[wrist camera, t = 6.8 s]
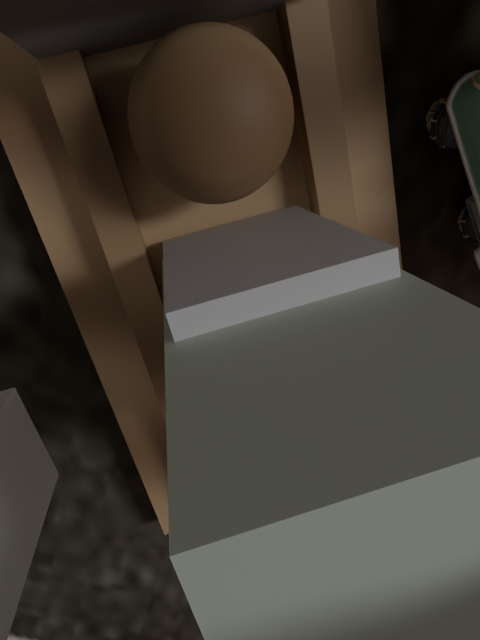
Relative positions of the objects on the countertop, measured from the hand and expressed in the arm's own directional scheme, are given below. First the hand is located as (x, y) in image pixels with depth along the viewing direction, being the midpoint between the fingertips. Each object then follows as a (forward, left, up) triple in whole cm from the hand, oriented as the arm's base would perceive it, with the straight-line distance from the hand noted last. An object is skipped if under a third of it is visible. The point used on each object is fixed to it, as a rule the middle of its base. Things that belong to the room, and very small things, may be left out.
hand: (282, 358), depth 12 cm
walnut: (-6, 0, -5) cm, 8 cm away
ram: (0, 0, -5) cm, 5 cm away
